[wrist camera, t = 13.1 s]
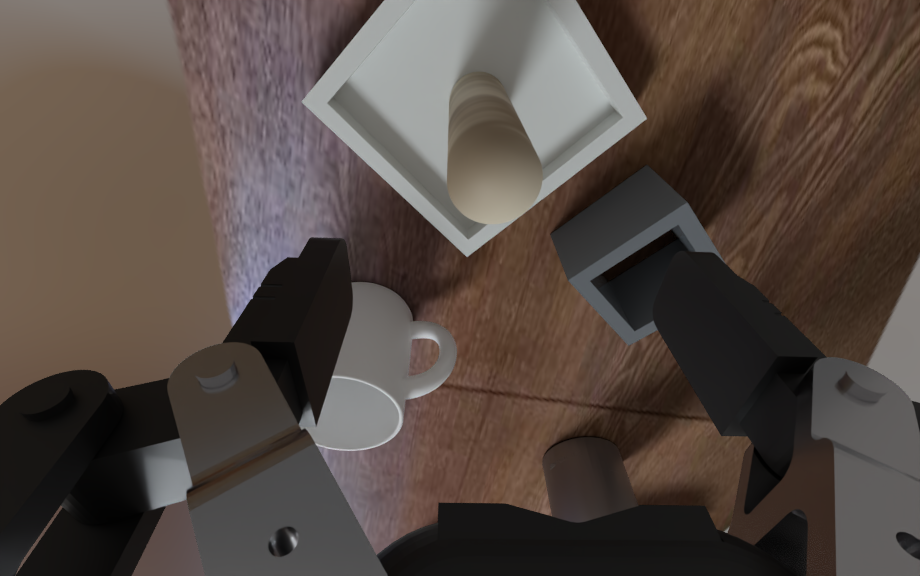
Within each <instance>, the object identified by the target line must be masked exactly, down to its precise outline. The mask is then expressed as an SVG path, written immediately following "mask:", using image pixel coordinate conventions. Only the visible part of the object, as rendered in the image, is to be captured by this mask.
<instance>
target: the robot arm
mask: <svg viewBox="0 0 920 576" xmlns="http://www.w3.org/2000/svg"><path fill="white" fill-rule="evenodd" d="M352 307H353V290H352V283H351V275H350V268H349V260H348V253H347V246H346V242H345V240H344V239H342V238H314V237H312V238H310V239H309V240H308V242H307V244H306V246H305V247H304V249H303V251H302V252H301V254H300V256H299V258H290V257H287V258H286V259H285V260H283V261H282V262H280V263H279V264H278V265H276V266H275V267H273V268H272V269H270V271H269V272H268V274H267V276H266V277H265V279H264V280H263V282H262V283H261V287H259V288H258V289H257V291H256V292H255V294H254V295H253V299H251V300H250V302H249V303H248V305H247V306H246V308H245V309H244V311H243V312H242V314H241V315H240V317H239V318H238V320H237V321H236V323H235V325H234V326H233V328H232V329H231V331H230V332H229V334H228V335H227V337H226V338H225V340H224V341H223V343H221V344H217V345H213V346H210V347H207V348H204V349H202V350H200V351H198V352H196V353H194V354H192V355H191V356H189V357H188V358H186V359H185V360H184V361H182V362H181V363H180V364H179V365H178V366H177V367H176V368H175V369H174V371H173V372H172V374H171V375H170V378H168V379H163V380H159V381H154V382H149V383H144V384H140V385H135V386H130V387H126V388H121V389H116V390H114V389H113V388H112V386H111V385H110V383H109V382H108V380H107V379H106V377H105V376H104V375H102V374H101V373H98V372H96V371H91V370H75V371H68V372H63V373H59V374H55V375H52V376H49V377H47V378H44V379H42V380H39V381H37V382H35V383H33V384H31V385H29V386H27V387H25V388H23V389H22V390H20V391H18V392H17V393H15V394H14V395H12V396H11V397H10V398H8V399H7V400H6V401H5V402H3V403H2V404H1V405H0V576H15V575H16V576H132V574H133V572H134V570H135V568H136V566H137V564H138V561H139V560H140V558H141V556H142V553H143V551H144V549H145V548H146V545H147V543H148V541H149V539H150V537H151V535H152V533H153V531H154V529H155V527H156V525H157V523H158V521H159V519H160V517H161V515H162V513H163V511H164V509H165V507H166V505H170V504H173V503H177V502H180V501H184V500H187V503H188V509H189V513H190V517H191V521H192V525H193V529H194V533H195V537H196V541H197V545H198V549H199V553H200V557H201V561H202V565H203V569H204V573H205V576H920V403H918V402H914V401H911V400H910V398H909V397H908V395H907V394H906V393H905V392H904V391H903V390H902V389H901V388H900V387H899V386H898V385H896V384H895V383H894V382H893V381H891V380H889V379H888V378H887V377H885V376H884V375H882V374H880V373H878V372H877V371H875V370H873V369H871V368H869V367H866V366H864V365H862V364H859V363H856V362H853V361H850V360H846V359H841V358H831V357H829V358H827V357H826V356H825V355H824V354H823V353H822V352H821V351H820V350H819V349H818V348H817V347H816V346H815V345H814V344H813V343H812V342H811V341H810V340H809V339H808V338H807V337H805V336H804V335H803V334H802V333H801V332H800V331H799V330H798V329H797V328H796V327H795V326H794V325H793V324H792V323H791V322H790V321H789V320H788V319H787V318H786V317H785V316H781V312H780V311H779V310H778V309H777V308H776V307H775V306H774V305H773V304H770V303H769V300H768V299H767V298H766V297H765V296H764V295H763V294H762V293H761V292H760V291H759V290H758V289H757V288H756V287H755V286H754V285H752V284H750V283H749V282H747V281H745V280H744V279H742V278H740V277H739V276H737V275H736V274H735V273H734V272H733V271H732V270H731V269H730V268H729V267H728V266H727V265H726V264H725V263H724V262H723V261H722V260H721V259H720V258H719V257H718V256H717V255H716V254H715V253H712V252H690V251H680V252H678V253H676V254H675V255H674V256H673V258H672V260H671V262H670V264H669V267H668V269H667V272H666V274H665V277H664V279H663V281H662V284H661V286H660V289H659V291H658V294H657V296H656V298H655V301H654V304H653V320H654V323H655V326H656V328H657V329H658V331H659V333H660V334H661V336H662V338H663V339H664V341H665V343H666V344H667V346H668V348H669V349H670V351H671V353H672V354H673V356H674V358H675V359H676V361H677V363H678V364H679V366H680V368H681V369H682V371H683V373H684V374H685V376H686V378H687V379H688V381H689V383H690V384H691V386H692V388H693V389H694V391H695V393H696V394H697V396H698V398H699V399H700V401H701V403H702V404H703V406H704V408H705V409H706V411H707V413H708V414H709V416H710V418H711V419H712V421H713V423H714V424H715V426H716V428H717V429H718V431H719V433H720V434H721V436H748V437H749V439H750V440H751V442H752V443H751V444H750V446H749V447H748V448H747V449H746V451H745V453H744V457H743V462H742V468H741V473H740V479H739V484H738V489H737V495H736V500H735V506H734V511H733V516H732V521H731V525H730V528H729V530H728V533H725V532H723V531H720V530H717V529H716V527H715V525H714V523H713V521H712V519H711V517H710V515H709V513H708V511H707V509H706V507H705V506H679V505H639V506H638V503H637V500H636V497H635V495H634V492H633V489H632V486H631V483H630V480H629V477H628V474H627V472H626V469H625V466H624V463H623V460H622V458H621V455H620V452H619V450H618V448H617V446H616V445H614V444H613V443H612V442H610V441H608V440H605V439H601V438H594V437H582V438H575V439H571V440H567V441H564V442H562V443H559V444H557V445H556V446H554V447H552V448H551V449H550V450H549V451H548V452H547V453H546V454H545V455H544V458H543V470H544V475H545V480H546V486H547V491H548V497H549V502H550V508H551V513H552V516H548V515H545V514H541V513H538V512H534V511H530V510H527V509H523V508H519V507H516V506H512V505H509V504H497V503H439V506H438V523H435V524H432V525H428V526H425V527H422V528H420V529H417V530H415V531H413V532H411V533H408V534H406V535H405V536H403V537H401V538H400V539H398V540H396V541H395V542H393V543H392V544H390V545H389V546H388V547H386V548H385V549H384V550H382V551H381V552H380V553H379V554H377V555H376V553H375V552H374V550H373V548H372V546H371V544H370V542H369V541H368V539H367V537H366V535H365V533H364V531H363V530H362V528H361V526H360V524H359V522H358V520H357V519H356V517H355V515H354V513H353V511H352V510H351V508H350V506H349V504H348V502H347V500H346V499H345V497H344V495H343V493H342V491H341V489H340V488H339V486H338V484H337V482H336V480H335V478H334V477H333V475H332V473H331V471H330V469H329V467H328V466H327V464H326V462H325V460H324V458H323V457H322V455H321V453H320V451H319V449H318V447H317V446H316V444H315V442H314V440H313V438H312V437H311V435H310V434H309V432H308V431H307V430H306V429H305V428H304V429H301V428H300V427H316V426H317V423H318V420H319V417H320V414H321V410H322V407H323V404H324V401H325V398H326V394H327V391H328V388H329V385H330V382H331V379H332V375H333V372H334V369H335V366H336V363H337V359H338V356H339V353H340V350H341V347H342V343H343V340H344V337H345V334H346V331H347V328H348V324H349V321H350V318H351V314H352ZM60 505H61V506H62V507H63V508H62V510H61V511H60V512H59V514H58V515H57V516H56V518H55V519H54V521H53V522H52V524H51V525H50V527H49V528H48V529H47V531H46V532H45V534H44V536H43V537H42V538H41V540H40V541H39V542H38V544H37V546H36V547H35V548H34V550H33V551H32V553H31V554H30V556H29V557H28V558H27V560H26V561H25V563H24V564H23V566H22V567H21V568H20V570H19V571H18V573H17V574H16V572H17V570H18V568H19V566H20V564H21V562H22V560H23V559H24V557H25V556H26V554H27V553H28V551H29V550H30V548H31V547H32V546H33V544H34V543H35V541H36V540H37V538H38V537H39V536H40V534H41V533H42V531H43V530H44V528H45V527H46V526H47V524H48V523H49V521H50V520H51V518H52V517H53V515H54V514H55V513H56V511H57V510H58V508H59V507H60Z"/></svg>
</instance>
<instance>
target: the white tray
mask: <svg viewBox="0 0 920 576" xmlns="http://www.w3.org/2000/svg"><path fill="white" fill-rule="evenodd" d="M472 72H486V73H489V74H491V75H493V76H495V77H496V78H497V79H498V80H499V81H500V82H501V83H502V85H503V87H504V89H505V91H506V93H507V95H508V97H509V99H510V101H511V103H512V105H513V107H514V109H515V111H516V113H517V115H518V117H519V119H520V121H521V123H522V125H523V127H524V129H525V131H526V133H527V135H528V137H529V139H530V141H531V143H532V145H533V147H534V149H535V151H536V153H537V155H538V157H539V159H540V162H541V165H542V171H543V180H542V186H541V190H540V193H539V195H538V197H537V199H536V201H535V202H534V203H533V205H532V206H531V207H530V208H532V207H533V206H534V205H535V204H537V203H538V202H539V201H541V200H542V199H543V198H545V197H546V196H547V195H548V194H550V193H551V192H552V191H554V190H555V189H556V188H558V187H559V186H560V185H561V184H563V183H564V182H565V181H567V180H568V179H569V178H571V177H572V176H573V175H574V174H576V173H577V172H578V171H580V170H581V169H582V168H584V167H585V166H586V165H587V164H589V163H590V162H591V161H593V160H594V159H595V158H597V157H598V156H599V155H600V154H602V153H603V152H604V151H606V150H607V149H608V148H610V147H611V146H612V145H613V144H615V143H616V142H617V141H619V140H620V139H621V138H623V137H624V136H625V135H626V134H628V133H629V132H630V131H632V130H633V129H634V128H636V127H637V126H638V125H639V124H641V123H642V122H643V121H645V120H646V119H647V118H646V116H645V114H644V113H643V111H642V109H641V108H640V106H639V104H638V103H637V101H636V99H635V98H634V96H633V94H632V93H631V91H630V89H629V88H628V86H627V84H626V83H625V81H624V79H623V78H622V76H621V74H620V73H619V71H618V69H617V68H616V66H615V64H614V63H613V61H612V59H611V58H610V56H609V54H608V53H607V51H606V50H605V48H604V46H603V45H602V43H601V41H600V40H599V38H598V36H597V35H596V33H595V31H594V30H593V28H592V26H591V25H590V23H589V21H588V20H587V18H586V16H585V15H584V13H583V11H582V10H581V8H580V6H579V5H578V3H577V1H576V0H384V1H383V2H382V4H381V5H380V6H379V7H378V9H377V10H376V11H375V12H374V14H373V15H372V16H371V17H370V18H369V20H368V21H367V22H366V23H365V25H364V26H363V27H362V28H361V29H360V31H359V32H358V33H357V34H356V36H355V37H354V38H353V39H352V41H351V42H350V43H349V44H348V45H347V47H346V48H345V49H344V50H343V52H342V53H341V54H340V55H339V57H338V58H337V59H336V60H335V61H334V63H333V64H332V65H331V66H330V68H329V69H328V70H327V71H326V72H325V74H324V75H323V76H322V77H321V79H320V80H319V81H318V82H317V84H316V85H315V86H314V87H313V88H312V90H311V91H310V92H309V93H308V95H307V96H306V97H305V98H304V100H303V101H302V103H303V104H304V105H305V106H306V107H307V108H308V109H309V110H311V111H312V112H313V113H314V114H315V115H316V116H317V117H318V118H319V119H320V120H321V121H322V122H323V123H324V124H325V125H327V126H328V127H329V128H330V129H331V130H332V131H333V132H334V133H335V134H336V135H337V136H338V137H339V138H340V139H342V140H343V141H344V142H345V143H346V144H347V145H348V146H349V147H350V148H351V149H352V150H353V151H354V152H355V153H356V154H358V155H359V156H360V157H361V158H362V159H363V160H364V161H365V162H366V163H367V164H368V165H369V166H370V167H371V168H372V169H374V170H375V171H376V172H377V173H378V174H379V175H380V176H381V177H382V178H383V179H384V180H385V181H386V182H387V183H388V184H390V185H391V186H392V187H393V188H394V189H395V190H396V191H397V192H398V193H399V194H400V195H401V196H402V197H403V198H404V199H406V200H407V201H408V202H409V203H410V204H411V205H412V206H413V207H414V208H415V209H416V210H417V211H418V212H419V213H420V214H422V215H423V216H424V217H425V218H426V219H427V220H428V221H429V222H430V223H431V224H432V225H433V226H434V227H435V228H437V229H438V230H439V231H440V232H441V233H442V234H443V235H444V236H445V237H446V238H447V239H448V240H449V241H450V242H451V243H453V244H454V245H455V246H456V247H457V248H458V249H459V250H460V251H461V252H462V253H463V254H464V255H465V256H466V257H468V256H469V255H470V254H472V253H473V252H474V251H476V250H477V249H478V248H480V247H481V246H482V245H483V244H485V243H486V242H487V241H489V240H490V239H491V238H493V237H494V236H495V235H496V234H498V233H499V232H500V231H502V230H503V229H504V228H506V227H507V226H508V225H509V224H511V223H512V222H513V221H515V220H516V219H517V218H516V219H514V220H511V221H509V222H506V223H501V224H483V223H479V222H476V221H473V220H471V219H469V218H467V217H466V216H464V215H463V214H462V213H461V212H460V211H459V210H458V209H457V208H456V207H455V205H454V204H453V202H452V200H451V198H450V196H449V192H448V188H447V157H448V121H449V98H450V94H451V91H452V89H453V87H454V85H455V84H456V83H457V81H458V80H459V79H461V78H462V77H463V76H465V75H467V74H469V73H472ZM530 208H529V209H530ZM529 209H528V210H529ZM528 210H527V211H528ZM519 217H520V216H519ZM519 217H518V218H519Z"/></svg>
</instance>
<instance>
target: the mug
mask: <svg viewBox="0 0 920 576" xmlns="http://www.w3.org/2000/svg"><path fill="white" fill-rule="evenodd" d="M352 290H353V307H352V314H351V318H350V321H349V324H348V328H347V331H346V334H345V337H344V340H343V343H342V347H341V350H340V353H339V356H338V359H337V363H336V366H335V369H334V372H333V375H332V379H331V382H330V385H329V388H328V391H327V394H326V398H325V401H324V404H323V407H322V410H321V414H320V417H319V420H318V423H317V426H316V427H300V428H301V429H304V428H305V429H306V430H307V431H308V432H309V434H310V435H311V437H312V438H313V440H314V442H315V444H316V445H318V446H321V447H325V448H329V449H335V450H346V451H354V450H365V449H370V448H373V447H377V446H379V445H382V444H384V443H386V442H388V441H389V440H391V439H392V438H393V437H394V436H395V435H396V434H397V433H398V432H399V430H400V428H401V426H402V424H403V418H404V408H405V400H407V399H412V398H416V397H419V396H423V395H425V394H427V393H430V392H431V391H433V390H435V389H436V388H437V387H439V386H440V385H441V384H442V383H443V382H444V381H445V380H446V379H447V378H448V376H449V375H450V373H451V372H452V370H453V368H454V365H455V362H456V356H457V348H456V343H455V340H454V338H453V336H452V335H451V333H450V332H449V331H448V330H447V329H446V328H444V327H443V326H441V325H439V324H437V323H433V322H428V321H413V317H412V314H411V311H410V309H409V307H408V305H407V304H406V303H405V301H404V300H403V299H402V298H401V297H400V296H399V295H398V294H396V293H395V292H393V291H392V290H390V289H388V288H386V287H384V286H381V285H378V284H374V283H369V282H352ZM418 338H429V339H433V340H435V341H436V342H437V343H438V345H439V348H440V354H439V357H438V360H437V362H436V363H435V364H434V365H433V366H432V367H431V368H430V369H429V370H427V371H426V372H424V373H421V374H418V375H414V376H408V374H409V365H410V356H411V346H412V339H418Z"/></svg>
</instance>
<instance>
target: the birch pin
mask: <svg viewBox="0 0 920 576" xmlns="http://www.w3.org/2000/svg"><path fill="white" fill-rule="evenodd" d="M542 180H543V171H542V165H541V162H540V159H539V157H538V155H537V153H536V151H535V149H534V147H533V145H532V143H531V141H530V139H529V137H528V135H527V133H526V131H525V129H524V127H523V125H522V123H521V121H520V119H519V117H518V115H517V113H516V111H515V109H514V107H513V105H512V103H511V101H510V99H509V97H508V95H507V93H506V91H505V89H504V87H503V85H502V83H501V82H500V81H499V80H498V79H497V78H496V77H495V76H493V75H491V74H489V73H486V72H472V73H469V74H467V75H465V76H463V77H462V78H461V79H459V80H458V81H457V83H456V84H455V85H454V87H453V89H452V91H451V94H450V98H449V121H448V157H447V188H448V192H449V196H450V198H451V200H452V202H453V204H454V205H455V207H456V208H457V209H458V210H459V211H460V212H461V213H462V214H463V215H464V216H466V217H467V218H469V219H471V220H473V221H476V222H479V223H483V224H501V223H506V222H509V221H511V220H514V219H516V218H518V217H519V216H521V215H522V214H524V213H525V212H526V211H527V210H528V209H529V208H530V207H531V206H532V205H533V203H534V202H535V201H536V199H537V197H538V195H539V193H540V190H541V186H542Z"/></svg>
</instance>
